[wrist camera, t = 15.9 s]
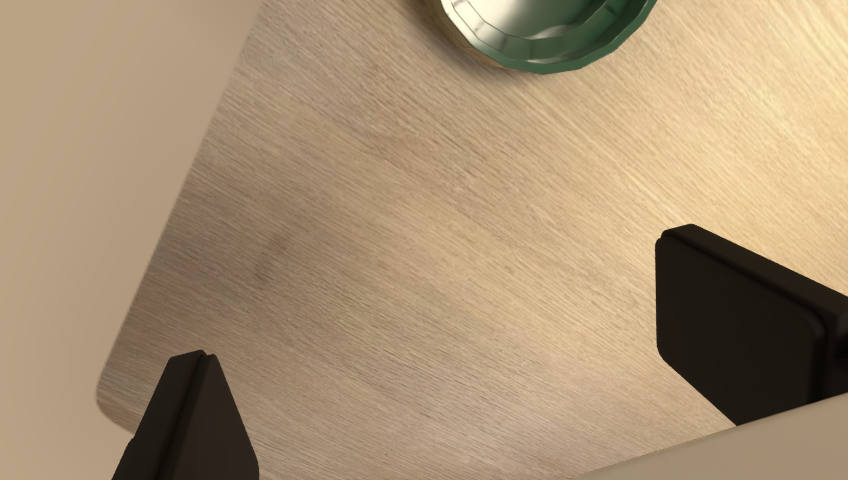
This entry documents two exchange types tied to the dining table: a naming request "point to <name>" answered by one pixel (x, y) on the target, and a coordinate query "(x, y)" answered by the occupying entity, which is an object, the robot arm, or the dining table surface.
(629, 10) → the bowl
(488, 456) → the dining table surface
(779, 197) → the dining table surface
